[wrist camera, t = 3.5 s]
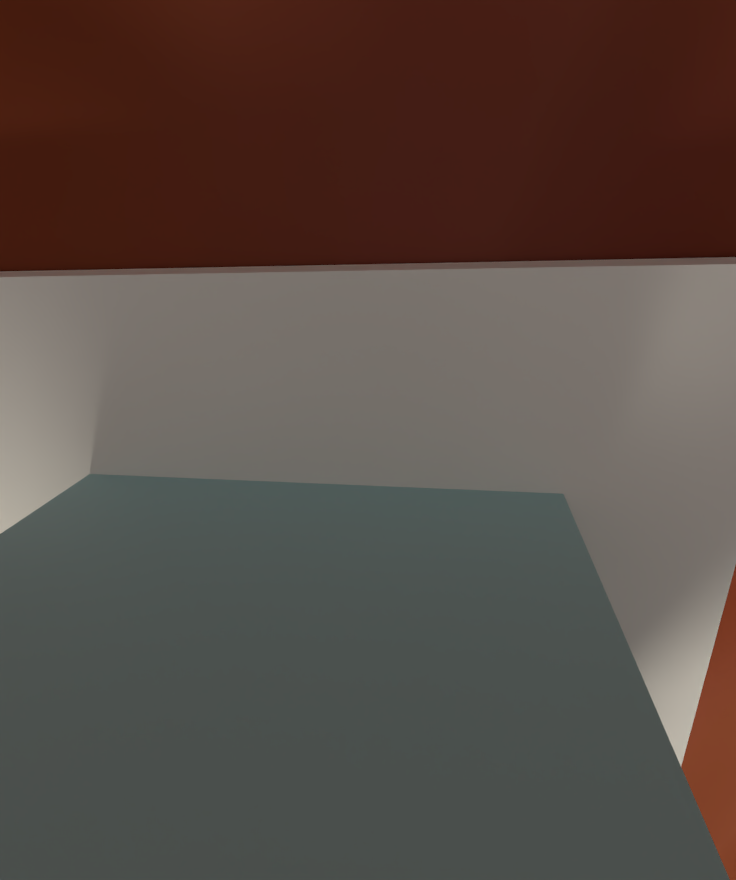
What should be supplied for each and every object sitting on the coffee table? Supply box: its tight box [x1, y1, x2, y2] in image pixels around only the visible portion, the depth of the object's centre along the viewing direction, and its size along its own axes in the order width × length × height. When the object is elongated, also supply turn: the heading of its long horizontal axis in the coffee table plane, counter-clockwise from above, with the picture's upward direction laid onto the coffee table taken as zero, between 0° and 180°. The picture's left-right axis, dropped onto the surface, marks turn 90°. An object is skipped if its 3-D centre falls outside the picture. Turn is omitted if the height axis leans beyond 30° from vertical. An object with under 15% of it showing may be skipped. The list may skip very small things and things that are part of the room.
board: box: [0, 257, 736, 766], centre depth 10 cm, size 20×15×4 cm
